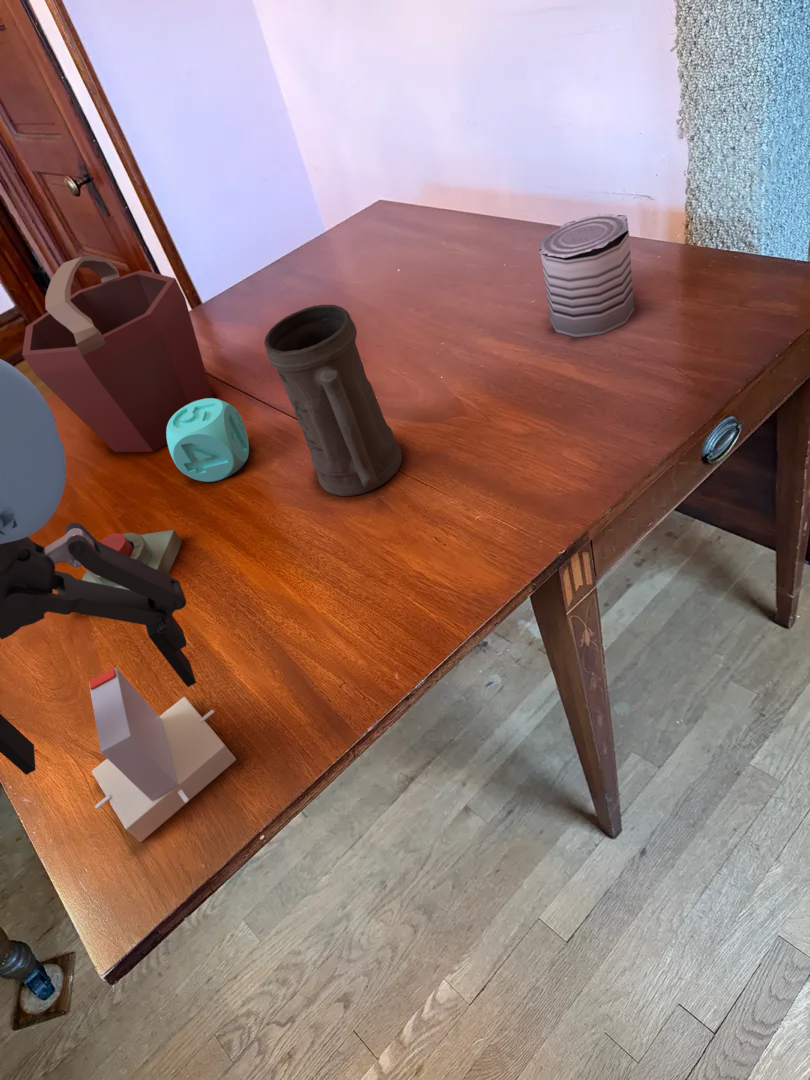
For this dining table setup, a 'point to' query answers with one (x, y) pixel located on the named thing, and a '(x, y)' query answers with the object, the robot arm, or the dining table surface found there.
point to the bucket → (118, 353)
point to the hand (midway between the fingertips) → (111, 716)
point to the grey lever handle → (132, 734)
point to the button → (118, 543)
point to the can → (588, 275)
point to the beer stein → (333, 399)
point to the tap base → (193, 763)
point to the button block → (147, 553)
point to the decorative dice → (207, 440)
